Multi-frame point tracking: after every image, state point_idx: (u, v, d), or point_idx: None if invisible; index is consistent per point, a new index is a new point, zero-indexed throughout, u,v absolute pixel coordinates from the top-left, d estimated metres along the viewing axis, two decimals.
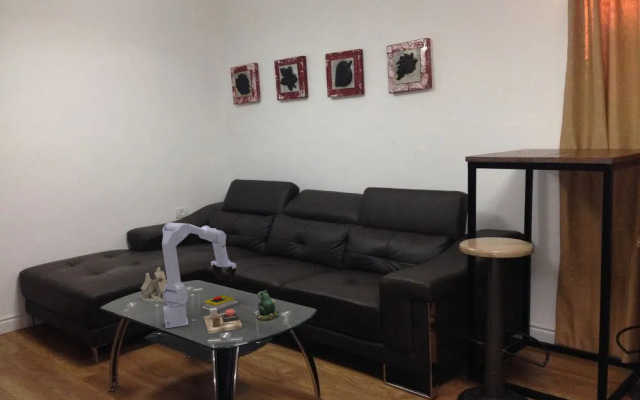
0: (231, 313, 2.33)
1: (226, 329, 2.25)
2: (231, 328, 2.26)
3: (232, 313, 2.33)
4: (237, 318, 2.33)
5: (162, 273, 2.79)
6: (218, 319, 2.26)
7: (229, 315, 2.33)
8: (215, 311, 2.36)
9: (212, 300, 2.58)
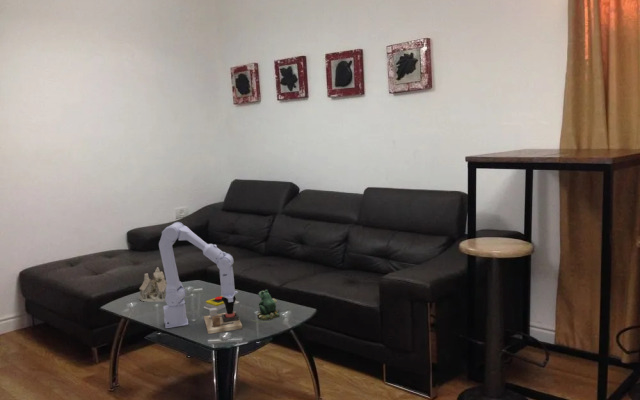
0: (231, 316, 2.33)
1: (226, 329, 2.25)
2: (231, 328, 2.26)
3: (232, 316, 2.33)
4: (237, 318, 2.33)
5: (161, 273, 2.78)
6: (218, 319, 2.26)
7: None
8: (215, 311, 2.36)
9: (213, 300, 2.57)
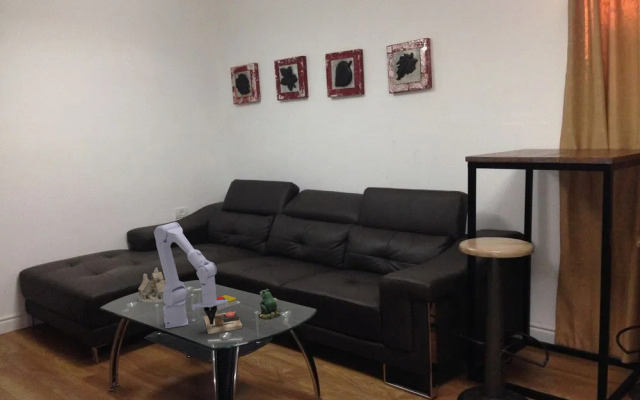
0: (231, 316, 2.33)
1: (226, 329, 2.25)
2: (231, 328, 2.26)
3: (232, 316, 2.33)
4: (237, 318, 2.33)
5: (160, 274, 2.78)
6: (220, 319, 2.27)
7: None
8: None
9: None
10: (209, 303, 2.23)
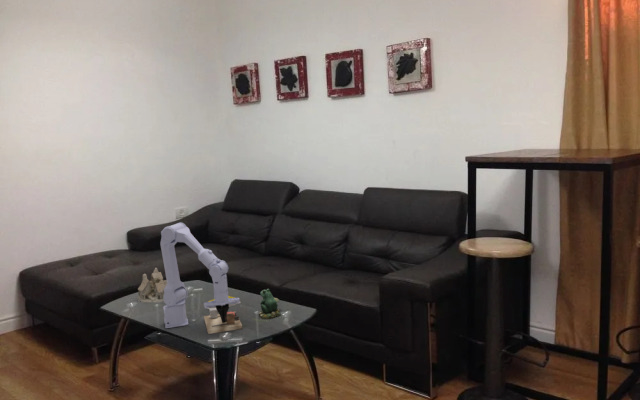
0: None
1: (226, 329, 2.25)
2: (231, 328, 2.26)
3: None
4: (237, 318, 2.33)
5: (159, 274, 2.78)
6: (232, 317, 2.28)
7: None
8: (215, 311, 2.36)
9: None
10: (221, 301, 2.24)
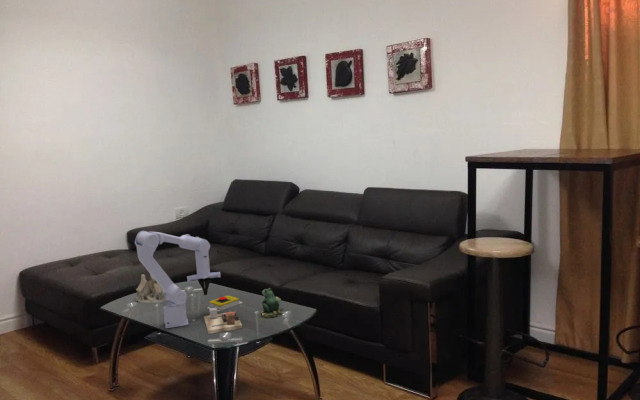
0: None
1: (226, 329, 2.25)
2: (231, 328, 2.26)
3: None
4: (237, 318, 2.33)
5: None
6: (232, 317, 2.28)
7: None
8: (215, 311, 2.36)
9: (217, 300, 2.57)
10: (203, 275, 2.41)
